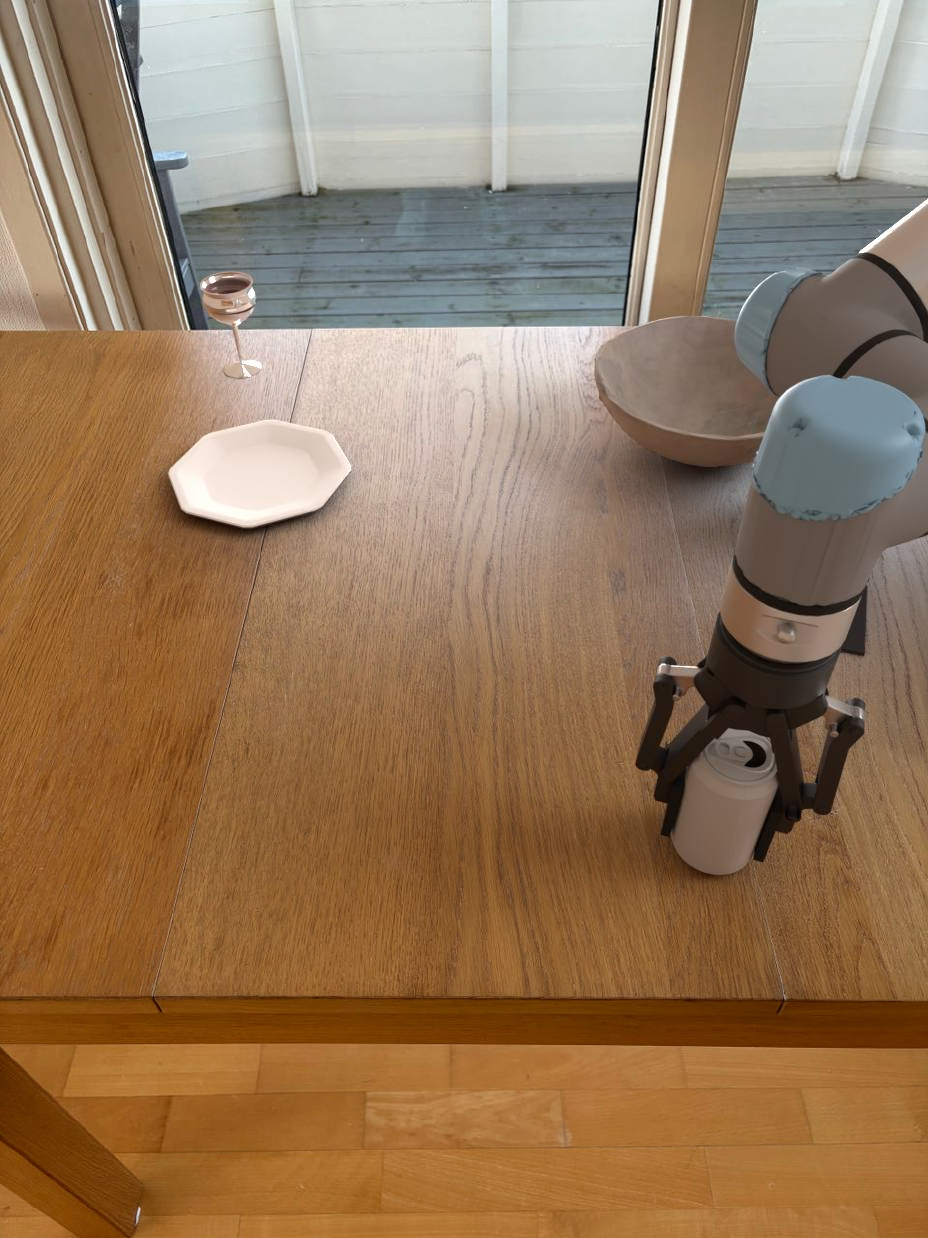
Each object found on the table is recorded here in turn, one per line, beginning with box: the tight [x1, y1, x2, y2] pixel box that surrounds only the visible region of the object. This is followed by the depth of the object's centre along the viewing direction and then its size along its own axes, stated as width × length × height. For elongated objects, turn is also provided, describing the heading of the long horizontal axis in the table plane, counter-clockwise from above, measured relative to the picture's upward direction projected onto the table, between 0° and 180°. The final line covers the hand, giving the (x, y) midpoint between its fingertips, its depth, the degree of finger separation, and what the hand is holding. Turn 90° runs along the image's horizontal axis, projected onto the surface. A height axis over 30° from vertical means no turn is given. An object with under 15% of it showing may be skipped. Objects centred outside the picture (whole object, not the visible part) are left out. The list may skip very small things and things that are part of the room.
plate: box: [167, 419, 352, 530], centre depth 109 cm, size 20×20×2 cm
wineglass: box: [199, 271, 262, 379], centre depth 124 cm, size 7×7×12 cm
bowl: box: [593, 315, 780, 468], centre depth 111 cm, size 26×26×10 cm
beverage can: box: [670, 728, 780, 876], centre depth 71 cm, size 6×6×12 cm
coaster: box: [841, 584, 868, 656], centre depth 94 cm, size 10×10×1 cm
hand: (713, 834), depth 74 cm, fingers closed on beverage can, 6 cm apart
